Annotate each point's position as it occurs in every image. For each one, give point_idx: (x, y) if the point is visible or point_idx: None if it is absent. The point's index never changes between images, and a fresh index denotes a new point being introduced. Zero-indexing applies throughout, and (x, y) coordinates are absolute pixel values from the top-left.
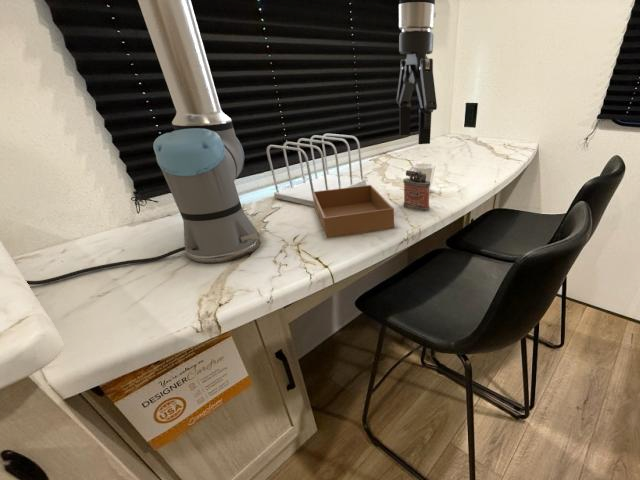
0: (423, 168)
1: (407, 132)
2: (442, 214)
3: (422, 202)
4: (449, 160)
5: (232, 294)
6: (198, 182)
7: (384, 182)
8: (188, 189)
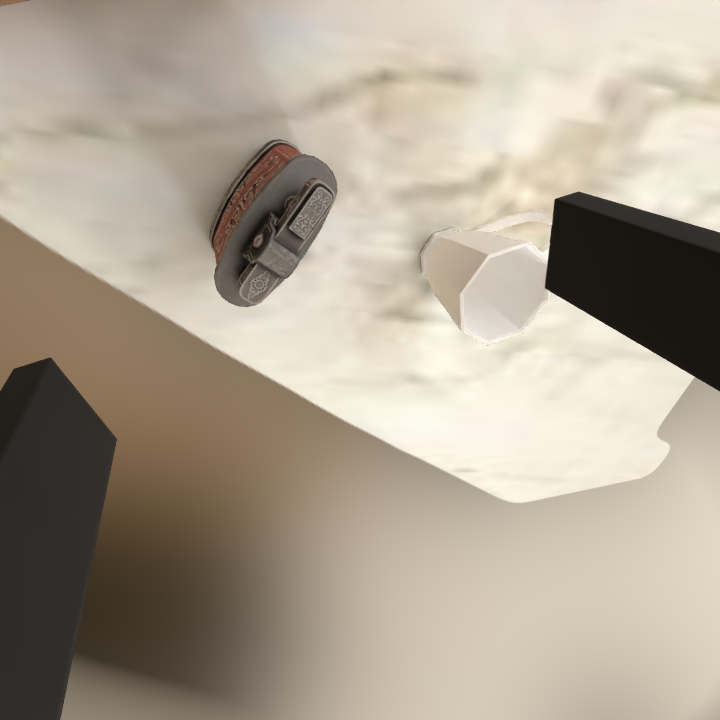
0: (463, 291)
1: (559, 274)
2: (169, 305)
3: (218, 236)
4: None
5: None
6: None
7: (624, 83)
8: None
